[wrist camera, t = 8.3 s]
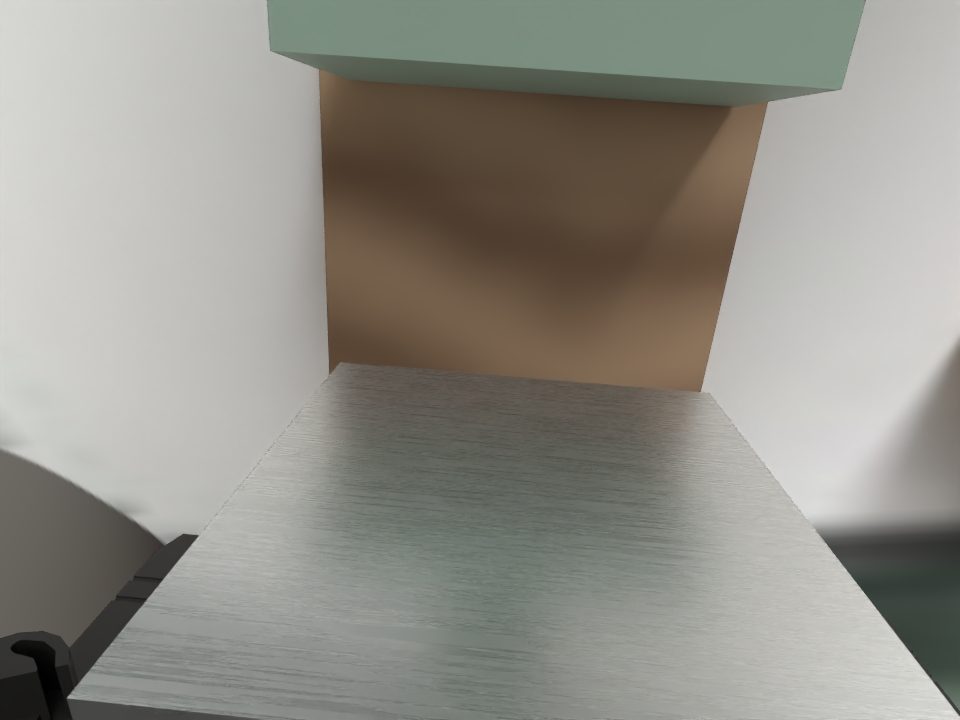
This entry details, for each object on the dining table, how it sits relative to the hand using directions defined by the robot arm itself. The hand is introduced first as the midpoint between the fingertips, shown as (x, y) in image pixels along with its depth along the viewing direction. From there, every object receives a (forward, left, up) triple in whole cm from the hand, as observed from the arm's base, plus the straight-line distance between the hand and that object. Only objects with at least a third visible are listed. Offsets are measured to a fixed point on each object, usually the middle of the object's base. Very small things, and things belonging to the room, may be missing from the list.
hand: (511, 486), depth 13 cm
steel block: (0, 0, 0) cm, 0 cm away
